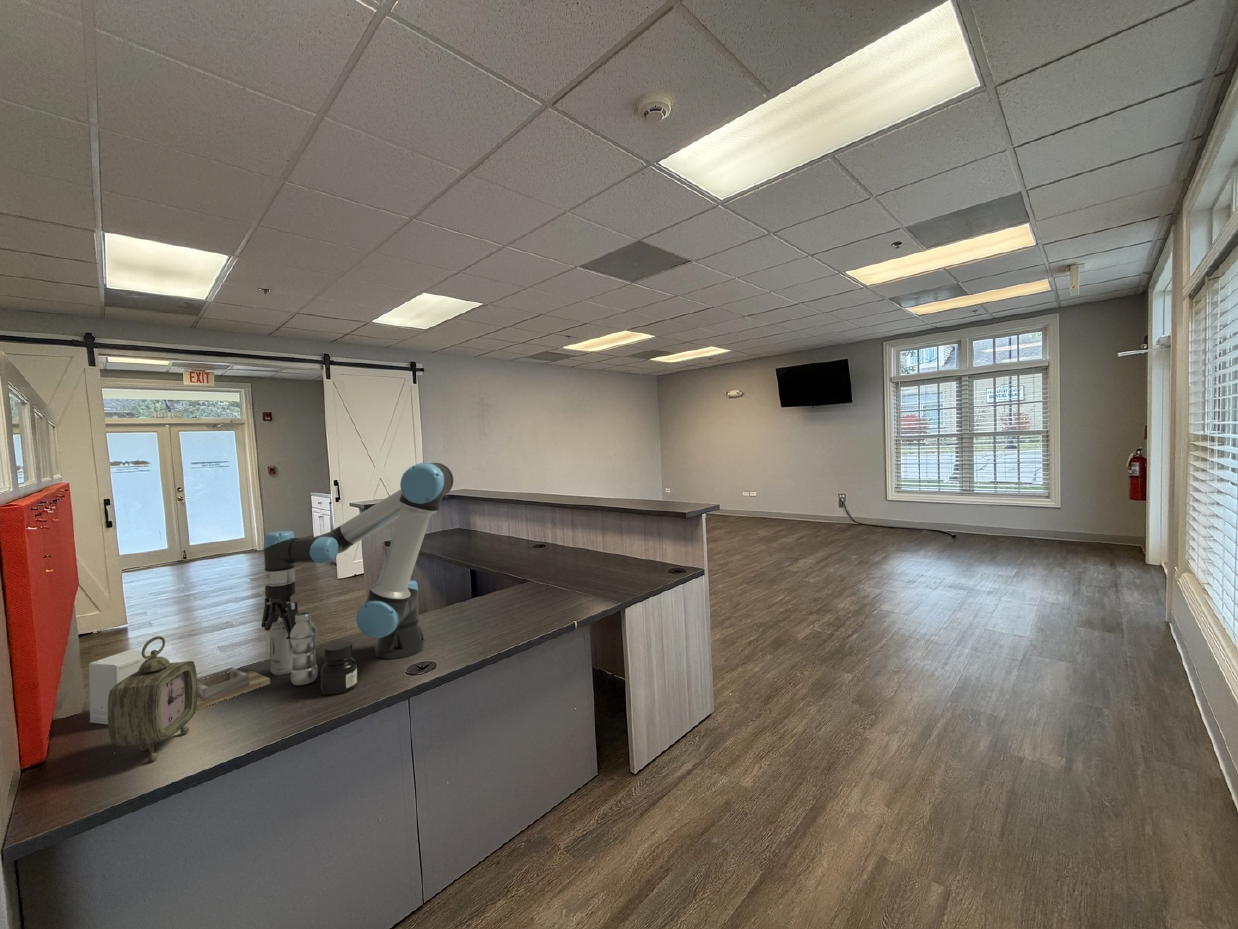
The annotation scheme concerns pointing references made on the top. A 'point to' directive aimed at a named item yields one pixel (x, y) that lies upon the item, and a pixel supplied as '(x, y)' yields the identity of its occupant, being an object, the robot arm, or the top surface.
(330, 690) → the ink bottle
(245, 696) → the top surface
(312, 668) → the plastic bottle
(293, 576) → the robot arm
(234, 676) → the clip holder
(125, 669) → the supplement box
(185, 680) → the tabletop clock
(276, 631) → the energy drink can
